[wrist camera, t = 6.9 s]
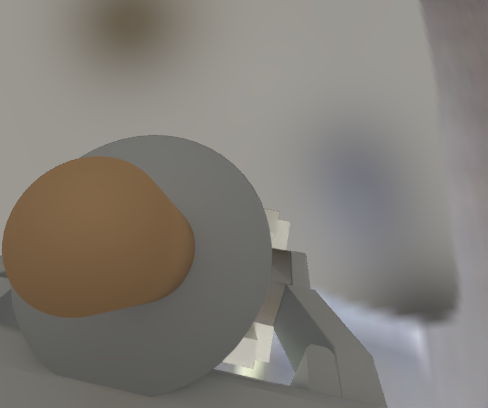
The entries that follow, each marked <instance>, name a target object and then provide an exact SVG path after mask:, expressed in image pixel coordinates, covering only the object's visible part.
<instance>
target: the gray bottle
mask: <svg viewBox="0 0 488 408" xmlns="http://www.w3.org/2000/svg"><path fill="white" fill-rule="evenodd" d="M2 257H3V264H4V268H5V272H6V275H7V277H8V279H9V282H10V284H11V286H10V287H11V296H12V304H13V308H14V312H15V316H16V320H17V323H18V325H19V327H20V330H21V332H22V334H23V337H24V339H25V340H26V342H27V343H28V345H29V347H30V348H31V350H32V351H33V353H34V354H35V355H36V356H37V358H38V359H39V360H40V361H41V362H42V363H43V364H44V365H45V367H47V368H48V369H49V370H50V371H51V372H53V373H54V374H55V375H58V376H62V377H66V378H71V379H75V380H79V381H84V382H88V383H92V384H97V385H101V386H105V387H110V388H114V389H118V390H122V391H127V392H131V393H135V394H140V395H144V396H148V397H152V396H156V395H160V394H164V393H168V392H171V391H174V390H176V389H179V388H181V387H183V386H186V385H188V384H190V383H192V382H194V381H195V380H197V379H199V378H200V377H202V376H204V375H206V374H207V373H208V372H210V371H211V370H212V369H213V368H215V367H216V366H217V365H219V364H220V363H221V362H222V361H223V360H224V359H225V358H226V357H227V356H228V355H229V354H230V353H231V352H232V351H233V350H234V349H235V348H236V347H237V346H238V344H239V343H240V342H241V340H242V339H243V338H244V336H245V335H246V334H247V332H248V331H249V329H250V327H251V326H252V324H253V322H254V320H255V319H256V317H257V315H258V313H259V310H260V308H261V305H262V303H263V301H264V298H265V294H266V291H267V287H268V284H269V279H270V272H271V265H272V243H271V234H270V228H269V224H268V220H267V216H266V213H265V211H264V208H263V206H262V203H261V201H260V199H259V197H258V195H257V194H256V192H255V190H254V188H253V186H252V185H251V184H250V182H249V181H248V180H247V178H246V177H245V176H244V175H243V174H242V173H241V171H240V170H239V169H238V168H237V167H236V166H235V165H234V164H232V163H231V162H230V161H229V160H227V159H226V158H225V157H223V156H222V155H221V154H219V153H217V152H215V151H214V150H212V149H210V148H208V147H206V146H204V145H201V144H199V143H197V142H194V141H190V140H187V139H183V138H178V137H172V136H157V135H149V136H137V137H132V138H127V139H122V140H118V141H115V142H112V143H109V144H106V145H104V146H102V147H99V148H97V149H95V150H93V151H91V152H89V153H87V154H86V155H84V156H82V157H80V158H79V159H75V160H72V161H68V162H66V163H63V164H62V165H59V166H57V167H55V168H53V169H51V170H50V171H48V172H47V173H45V174H44V175H42V176H41V177H40V178H38V179H37V180H36V181H35V182H34V183H33V184H32V185H31V186H30V187H29V188H28V189H27V190H26V191H25V192H24V193H23V195H22V196H21V197H20V199H19V200H18V202H17V203H16V205H15V206H14V208H13V210H12V212H11V214H10V216H9V219H8V221H7V224H6V228H5V231H4V236H3V242H2Z"/></svg>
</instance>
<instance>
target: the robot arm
mask: <svg viewBox="0 0 488 408" xmlns="http://www.w3.org/2000/svg"><path fill="white" fill-rule="evenodd" d="M10 286H11V284H10V282H9V279H8V277H7V275H6V272H5V268H4V264H3V257H2V256H0V408H387V405H386V401H385V398H384V394H383V391H382V388H381V384H380V381H379V378H378V374H377V371H376V367H375V364H374V361H373V357H372V355H371V354H370V353H369V352H368V351H367V350H366V348H365V347H364V346H363V345H362V344H361V343H360V342H359V340H358V339H357V338H356V337H355V336H354V335H353V333H352V332H351V331H350V330H349V329H348V328H347V327H346V325H345V324H344V323H343V322H342V321H341V320H340V318H339V317H338V316H337V315H336V314H335V313H334V311H333V310H332V309H331V308H330V307H329V306H328V305H327V303H326V302H325V301H324V300H323V299H322V298H321V296H320V295H319V294H318V293H317V292H316V291H315V290H312V289H310V281H309V273H308V265H307V256H306V254H305V253H300V252H295V251H287V250H282V249H276V248H272V265H271V272H270V279H269V284H268V287H267V291H266V294H265V298H264V301H263V303H262V305H261V308H260V310H259V313H258V315H257V317H256V319H255V320H254V322H256V323H260V324H264V325H269V326H273V327H274V330H275V332H276V334H277V336H278V338H279V340H280V342H281V344H282V346H283V349H284V351H285V353H286V355H287V357H288V359H289V361H290V363H291V365H292V367H293V369H294V371H295V373H296V374H295V376H294V378H293V380H292V383H291V385H290V386H287V385H283V384H278V383H274V382H269V381H265V380H260V379H256V378H251V377H247V376H242V375H238V374H233V373H229V372H224V371H220V370H215V369H212V370H211V371H210V372H208V373H207V374H206V375H204V376H202V377H200V378H199V379H197V380H195V381H194V382H192V383H190V384H188V385H186V386H183V387H181V388H179V389H176V390H174V391H171V392H168V393H164V394H160V395H156V396H152V397H148V396H144V395H140V394H135V393H131V392H127V391H122V390H118V389H114V388H110V387H105V386H101V385H97V384H92V383H88V382H84V381H79V380H75V379H71V378H66V377H62V376H58V375H55V374H54V373H53V372H51V371H50V370H49V369H48V368H47V367H45V365H44V364H43V363H42V362H41V361H40V360H39V359H38V358H37V356H36V355H35V354H34V353H33V351H32V350H31V348H30V347H29V345H28V343H27V342H26V340H25V339H24V337H23V334H22V332H21V330H20V327H19V325H18V323H17V320H16V316H15V312H14V308H13V304H12V296H11V287H10Z"/></svg>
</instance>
